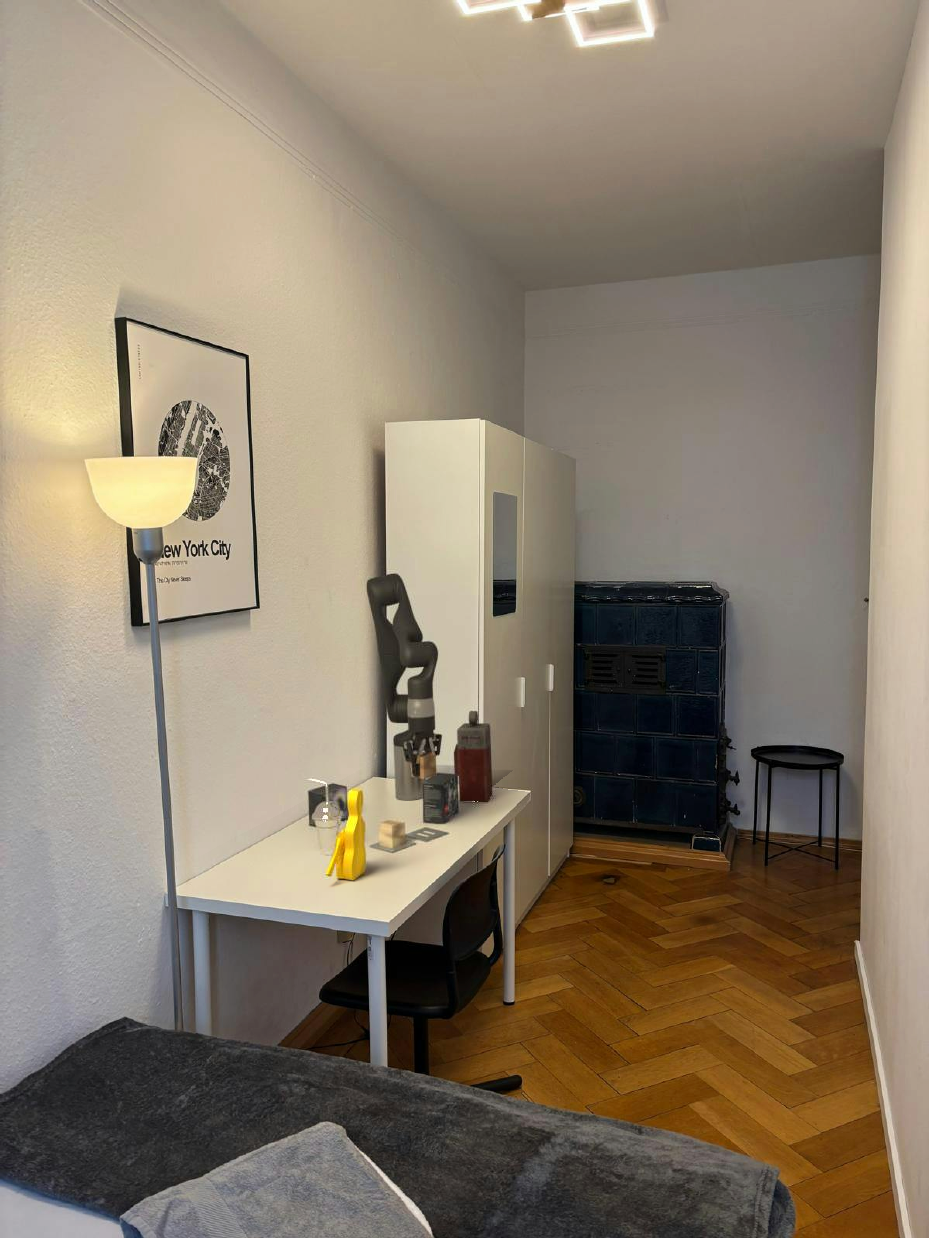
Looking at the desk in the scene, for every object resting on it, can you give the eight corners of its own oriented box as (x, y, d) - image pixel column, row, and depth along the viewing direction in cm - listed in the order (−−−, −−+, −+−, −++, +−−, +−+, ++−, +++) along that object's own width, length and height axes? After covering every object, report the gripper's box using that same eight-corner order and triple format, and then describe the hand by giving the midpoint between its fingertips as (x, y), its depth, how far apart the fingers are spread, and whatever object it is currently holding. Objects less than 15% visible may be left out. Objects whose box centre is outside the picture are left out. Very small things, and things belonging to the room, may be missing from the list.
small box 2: (444, 824, 276) (443, 784, 275) (422, 823, 278) (421, 782, 277) (459, 812, 289) (458, 772, 288) (438, 810, 291) (436, 772, 290)
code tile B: (393, 838, 265) (393, 836, 265) (416, 844, 259) (416, 842, 259) (369, 846, 258) (369, 845, 258) (392, 852, 252) (392, 851, 252)
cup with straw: (327, 859, 249) (323, 784, 247) (305, 853, 255) (301, 779, 253) (352, 851, 255) (348, 777, 253) (330, 844, 261) (326, 772, 259)
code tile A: (425, 828, 273) (425, 826, 273) (448, 833, 267) (448, 832, 267) (403, 836, 267) (403, 834, 267) (426, 841, 261) (426, 840, 261)
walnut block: (423, 772, 269) (422, 751, 269) (436, 775, 266) (435, 754, 265) (411, 776, 265) (410, 755, 265) (424, 779, 262) (423, 757, 262)
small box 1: (323, 829, 276) (322, 793, 275) (308, 825, 280) (306, 790, 279) (349, 819, 284) (347, 785, 284) (333, 816, 288) (332, 782, 287)
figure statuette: (353, 863, 245) (349, 779, 243) (381, 866, 242) (377, 780, 241) (319, 887, 229) (315, 797, 227) (348, 890, 226) (344, 799, 224)
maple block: (392, 840, 262) (391, 818, 262) (405, 843, 259) (404, 821, 258) (379, 844, 258) (378, 823, 258) (392, 848, 255) (391, 826, 255)
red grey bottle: (458, 794, 309) (455, 708, 306) (492, 795, 306) (489, 708, 304) (452, 801, 300) (448, 713, 298) (487, 802, 297) (484, 713, 295)
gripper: (429, 708, 272) (431, 767, 273) (393, 716, 261) (395, 777, 263) (448, 710, 267) (451, 770, 268) (412, 719, 256) (415, 781, 258)
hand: (423, 773), depth 266 cm, fingers closed on walnut block, 5 cm apart
